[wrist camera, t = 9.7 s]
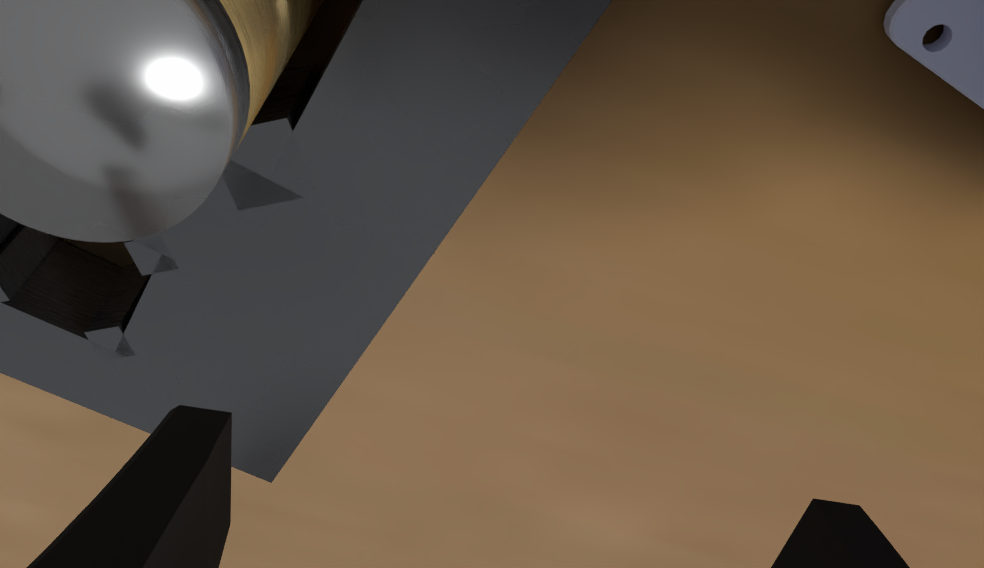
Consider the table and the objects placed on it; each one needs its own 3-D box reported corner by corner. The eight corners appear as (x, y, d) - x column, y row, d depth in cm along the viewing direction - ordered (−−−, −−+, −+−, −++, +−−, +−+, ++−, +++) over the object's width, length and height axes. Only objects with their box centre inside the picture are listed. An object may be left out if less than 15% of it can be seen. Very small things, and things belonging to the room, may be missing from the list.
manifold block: (608, -56, 16) (621, -13, 14) (293, 409, 23) (271, 482, 21) (-74, -522, 12) (-191, -558, 10) (-197, 196, 20) (-279, 259, 17)
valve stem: (372, -14, 16) (297, 151, 11) (213, 90, 18) (70, 289, 12) (230, -221, 15) (47, -156, 9) (64, -88, 16) (-192, 45, 10)
